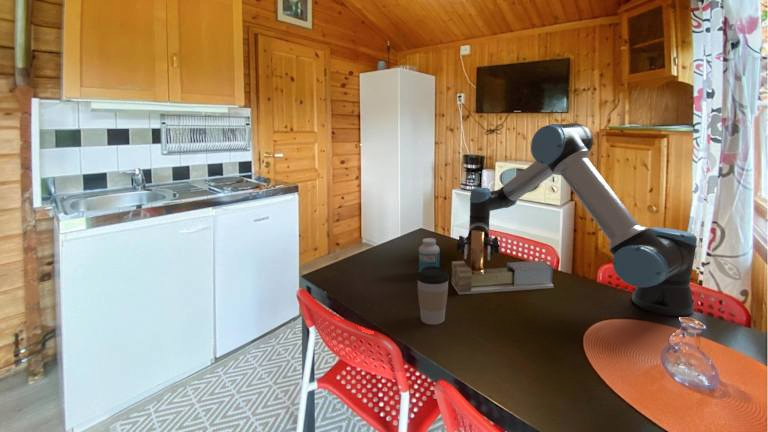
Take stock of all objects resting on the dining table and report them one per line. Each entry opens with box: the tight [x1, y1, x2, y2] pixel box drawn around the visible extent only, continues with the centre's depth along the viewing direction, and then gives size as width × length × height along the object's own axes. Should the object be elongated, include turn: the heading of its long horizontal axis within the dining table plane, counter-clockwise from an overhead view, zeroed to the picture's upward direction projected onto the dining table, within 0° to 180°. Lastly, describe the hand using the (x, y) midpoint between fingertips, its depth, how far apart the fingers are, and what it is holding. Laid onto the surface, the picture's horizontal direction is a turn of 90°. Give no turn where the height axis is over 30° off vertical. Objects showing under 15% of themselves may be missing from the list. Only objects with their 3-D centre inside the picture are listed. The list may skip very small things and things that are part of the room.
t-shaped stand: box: [469, 230, 514, 286], centre depth 135 cm, size 5×20×18 cm, turn 96°
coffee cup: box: [416, 266, 450, 325], centre depth 116 cm, size 9×9×15 cm
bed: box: [451, 281, 555, 295], centre depth 138 cm, size 9×32×1 cm, turn 96°
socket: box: [451, 260, 472, 292], centre depth 136 cm, size 9×4×7 cm, turn 6°
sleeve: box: [506, 260, 554, 286], centre depth 139 cm, size 7×13×7 cm, turn 96°
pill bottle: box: [418, 237, 441, 273], centre depth 147 cm, size 8×7×14 cm
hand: (477, 255), depth 130 cm, fingers open, 7 cm apart
